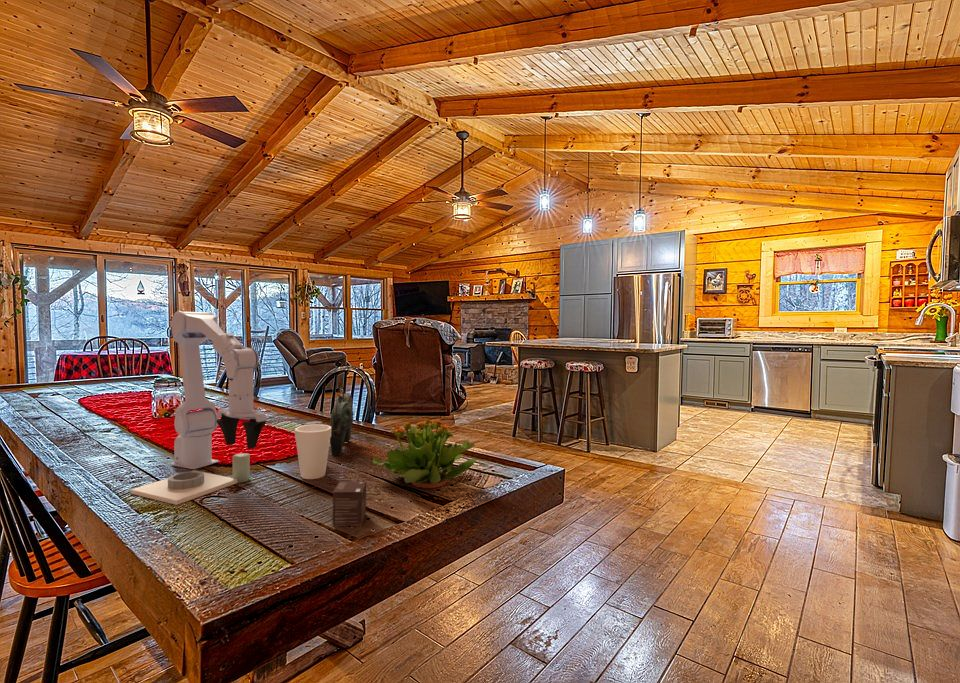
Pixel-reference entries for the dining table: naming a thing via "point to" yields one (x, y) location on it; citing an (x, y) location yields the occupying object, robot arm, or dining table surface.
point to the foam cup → (312, 449)
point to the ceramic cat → (341, 422)
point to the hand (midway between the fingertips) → (241, 446)
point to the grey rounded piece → (241, 467)
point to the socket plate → (183, 494)
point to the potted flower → (426, 455)
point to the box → (349, 503)
